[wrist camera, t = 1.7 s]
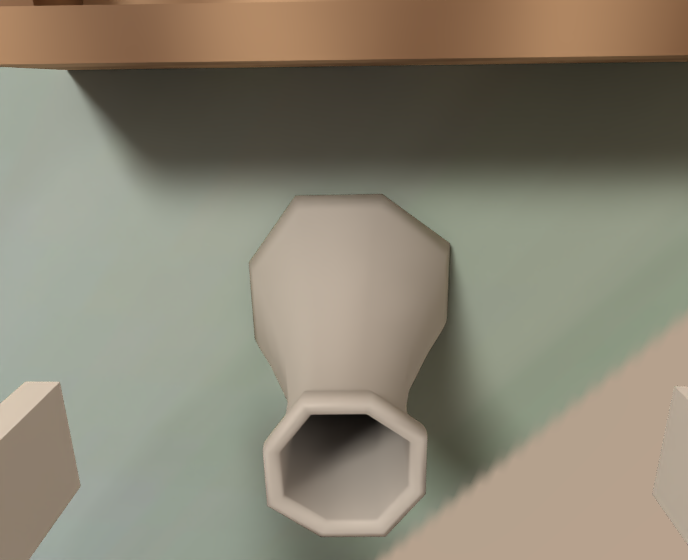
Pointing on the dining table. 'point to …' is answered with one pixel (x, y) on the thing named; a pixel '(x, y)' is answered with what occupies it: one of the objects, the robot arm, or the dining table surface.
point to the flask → (347, 358)
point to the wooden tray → (336, 33)
